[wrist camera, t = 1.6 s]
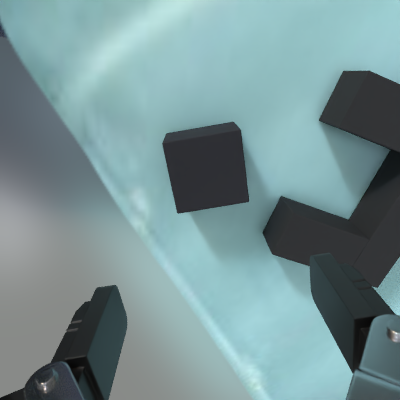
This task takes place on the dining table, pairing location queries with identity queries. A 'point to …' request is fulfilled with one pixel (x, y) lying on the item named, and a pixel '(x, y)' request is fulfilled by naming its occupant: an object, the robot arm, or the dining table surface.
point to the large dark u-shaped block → (373, 198)
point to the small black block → (206, 167)
